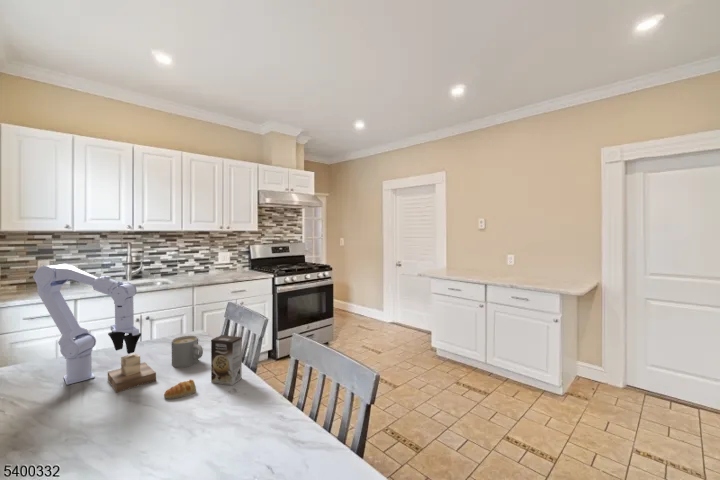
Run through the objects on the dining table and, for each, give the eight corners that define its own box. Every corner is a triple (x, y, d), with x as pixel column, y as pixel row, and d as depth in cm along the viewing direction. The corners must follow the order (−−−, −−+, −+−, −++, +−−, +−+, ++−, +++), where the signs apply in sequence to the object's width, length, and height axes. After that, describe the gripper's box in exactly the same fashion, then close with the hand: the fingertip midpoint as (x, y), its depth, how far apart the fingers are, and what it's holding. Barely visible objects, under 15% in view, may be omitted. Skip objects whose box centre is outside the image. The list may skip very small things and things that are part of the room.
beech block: (121, 373, 119) (121, 357, 119) (135, 368, 123) (134, 353, 123) (126, 376, 117) (126, 359, 117) (140, 371, 121) (140, 355, 121)
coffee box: (210, 383, 119) (210, 339, 118) (221, 375, 125) (221, 334, 124) (232, 386, 116) (231, 341, 116) (242, 378, 123) (242, 336, 122)
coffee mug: (166, 364, 134) (166, 340, 134) (188, 356, 143) (188, 334, 143) (187, 371, 128) (187, 346, 128) (208, 362, 137) (208, 338, 137)
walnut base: (107, 379, 121) (107, 371, 121) (145, 369, 130) (145, 362, 129) (116, 392, 111) (116, 383, 111) (156, 380, 120) (155, 372, 120)
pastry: (166, 403, 105) (166, 391, 105) (161, 395, 110) (161, 384, 110) (197, 393, 112) (197, 382, 111) (191, 386, 116) (191, 376, 116)
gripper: (101, 316, 122) (101, 351, 122) (124, 320, 116) (125, 358, 116) (121, 311, 128) (122, 345, 129) (144, 316, 122) (145, 351, 122)
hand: (124, 351), depth 123 cm, fingers open, 7 cm apart
